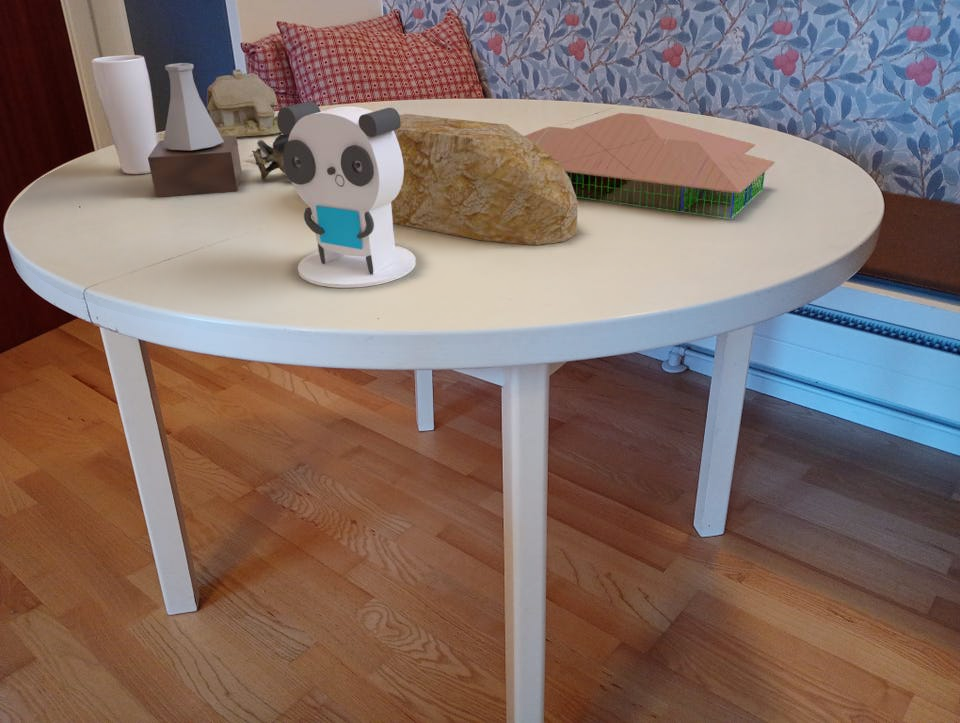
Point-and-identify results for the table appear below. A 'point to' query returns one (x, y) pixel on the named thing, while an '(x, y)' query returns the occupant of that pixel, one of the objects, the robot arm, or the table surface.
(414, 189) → the brown rock
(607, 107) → the table surface
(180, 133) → the flask
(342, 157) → the panda figurine
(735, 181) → the house
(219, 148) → the walnut block
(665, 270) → the table surface
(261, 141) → the eagle figurine
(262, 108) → the ceramic model
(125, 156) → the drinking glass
